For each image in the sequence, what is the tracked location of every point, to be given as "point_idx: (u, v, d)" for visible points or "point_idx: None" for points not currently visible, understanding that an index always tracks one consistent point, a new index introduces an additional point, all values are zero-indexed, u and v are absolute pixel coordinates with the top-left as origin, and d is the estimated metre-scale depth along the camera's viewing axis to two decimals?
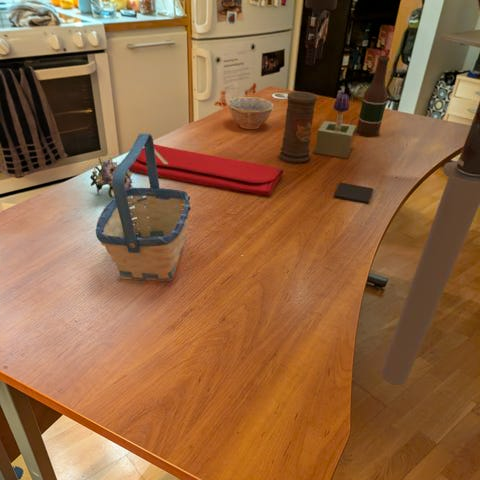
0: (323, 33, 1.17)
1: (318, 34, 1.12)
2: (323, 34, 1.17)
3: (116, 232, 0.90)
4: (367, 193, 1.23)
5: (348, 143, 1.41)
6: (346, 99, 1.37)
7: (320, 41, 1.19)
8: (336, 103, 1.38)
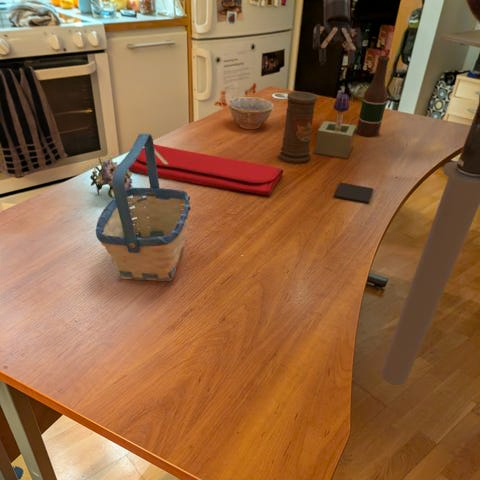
0: (347, 42, 1.36)
1: (326, 38, 1.34)
2: (348, 43, 1.36)
3: (116, 232, 0.90)
4: (367, 193, 1.23)
5: (348, 143, 1.41)
6: (346, 99, 1.37)
7: (350, 51, 1.37)
8: (336, 103, 1.38)
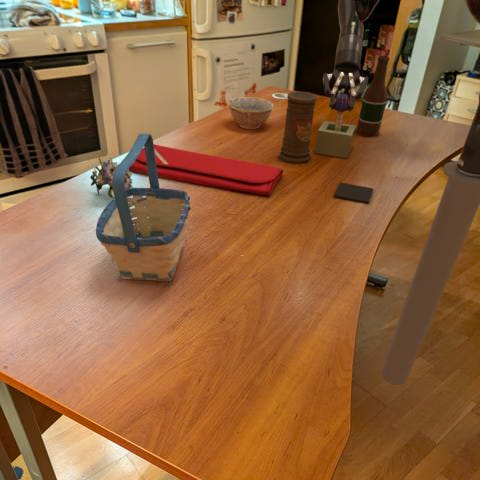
0: None
1: None
2: (350, 88, 1.38)
3: (116, 232, 0.90)
4: (367, 193, 1.23)
5: (348, 143, 1.41)
6: (346, 99, 1.37)
7: (351, 95, 1.38)
8: (336, 103, 1.38)
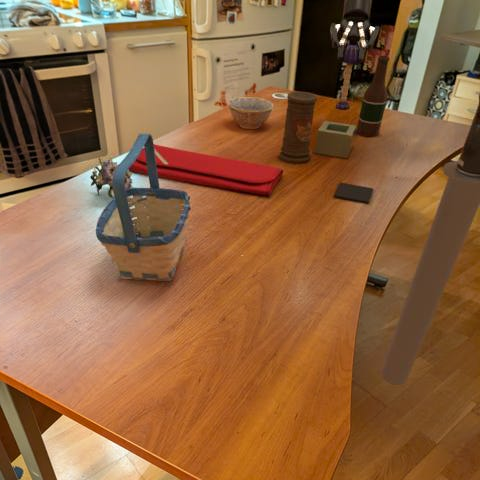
0: None
1: None
2: (360, 38, 1.29)
3: (116, 232, 0.90)
4: (367, 193, 1.23)
5: (348, 143, 1.41)
6: (355, 50, 1.28)
7: (360, 47, 1.30)
8: (345, 55, 1.30)
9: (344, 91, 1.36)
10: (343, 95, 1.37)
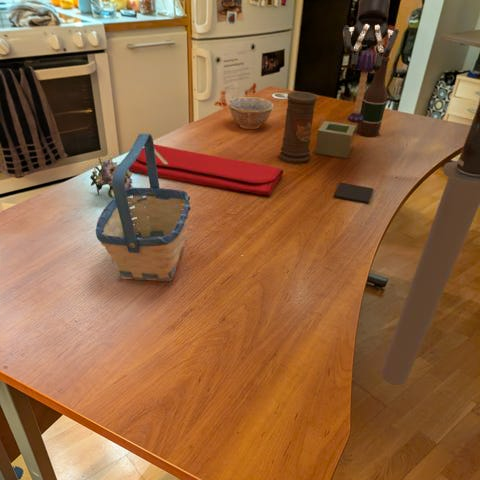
0: None
1: None
2: (377, 43, 1.14)
3: (116, 232, 0.90)
4: (367, 193, 1.23)
5: (348, 143, 1.41)
6: (372, 56, 1.14)
7: (377, 52, 1.15)
8: (359, 62, 1.15)
9: (358, 102, 1.21)
10: (357, 106, 1.22)
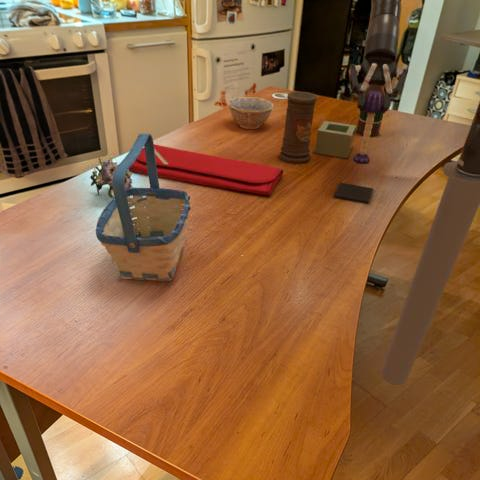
0: None
1: None
2: (385, 83, 1.08)
3: (116, 232, 0.90)
4: (367, 193, 1.23)
5: (348, 143, 1.41)
6: (380, 98, 1.07)
7: (385, 93, 1.08)
8: (366, 103, 1.08)
9: (364, 143, 1.15)
10: (363, 147, 1.16)
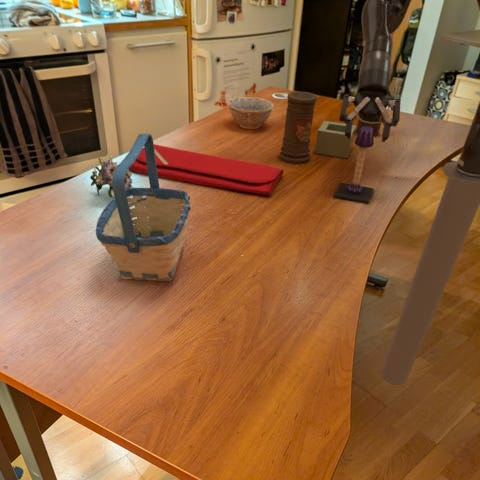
0: (381, 114, 1.12)
1: None
2: (382, 115, 1.12)
3: (116, 232, 0.90)
4: (367, 193, 1.23)
5: (348, 143, 1.41)
6: (371, 133, 1.12)
7: (385, 124, 1.13)
8: (358, 138, 1.14)
9: (357, 174, 1.20)
10: (355, 178, 1.21)
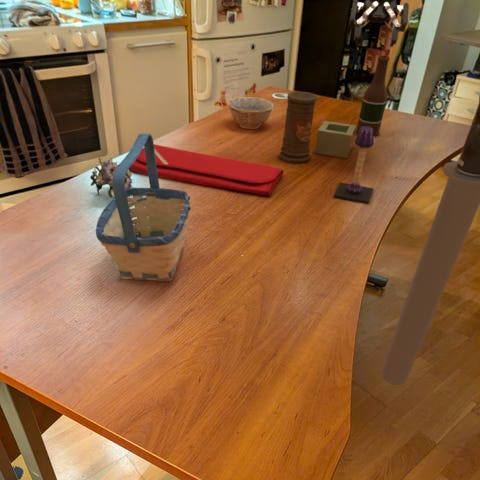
0: (390, 18, 1.15)
1: None
2: (391, 19, 1.15)
3: (116, 232, 0.90)
4: (367, 193, 1.23)
5: (348, 143, 1.41)
6: (371, 133, 1.12)
7: (393, 28, 1.15)
8: (358, 138, 1.14)
9: (357, 174, 1.20)
10: (355, 178, 1.21)
